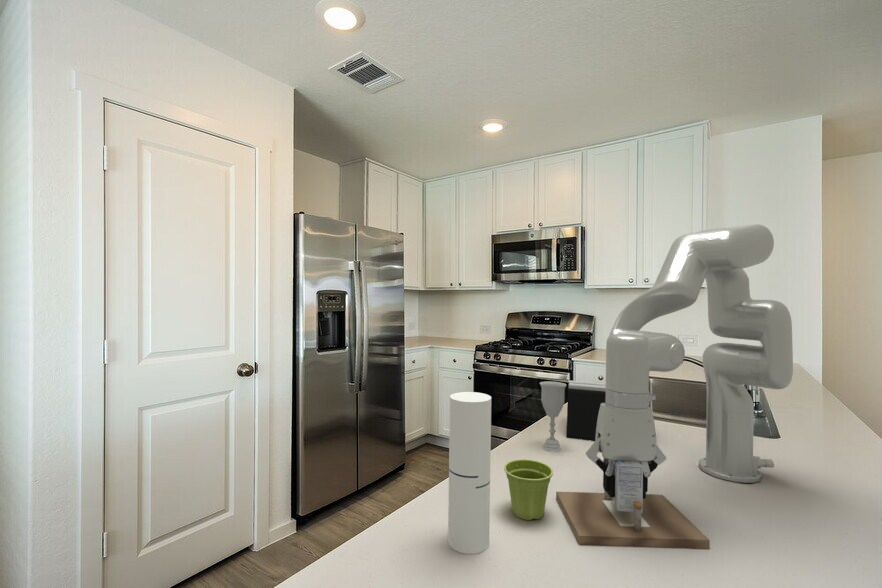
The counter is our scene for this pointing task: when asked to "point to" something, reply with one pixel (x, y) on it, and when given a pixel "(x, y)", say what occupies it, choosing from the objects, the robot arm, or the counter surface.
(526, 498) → the plant pot
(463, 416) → the cylindrical container
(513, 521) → the counter surface
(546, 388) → the chalice
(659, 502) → the pin board
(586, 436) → the device stand
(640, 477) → the medicine box
